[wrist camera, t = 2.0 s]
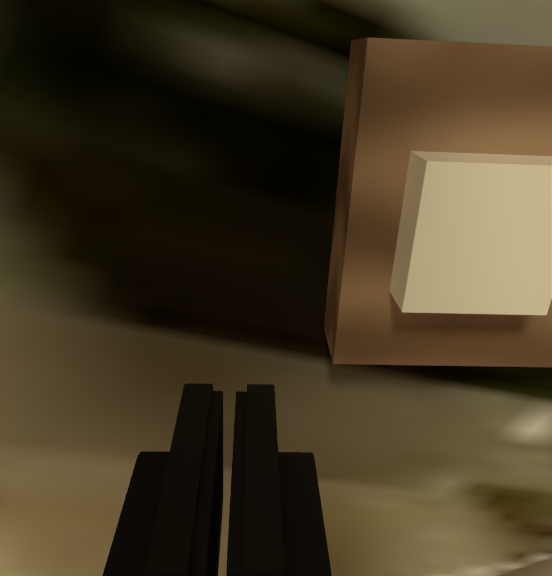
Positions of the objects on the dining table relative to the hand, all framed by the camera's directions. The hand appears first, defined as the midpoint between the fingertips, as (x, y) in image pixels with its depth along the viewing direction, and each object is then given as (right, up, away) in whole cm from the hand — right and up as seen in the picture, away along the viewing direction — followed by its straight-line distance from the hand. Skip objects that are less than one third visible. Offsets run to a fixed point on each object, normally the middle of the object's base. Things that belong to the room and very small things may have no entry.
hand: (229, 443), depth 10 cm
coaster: (+10, +6, +14) cm, 19 cm away
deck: (+12, +8, +18) cm, 23 cm away
